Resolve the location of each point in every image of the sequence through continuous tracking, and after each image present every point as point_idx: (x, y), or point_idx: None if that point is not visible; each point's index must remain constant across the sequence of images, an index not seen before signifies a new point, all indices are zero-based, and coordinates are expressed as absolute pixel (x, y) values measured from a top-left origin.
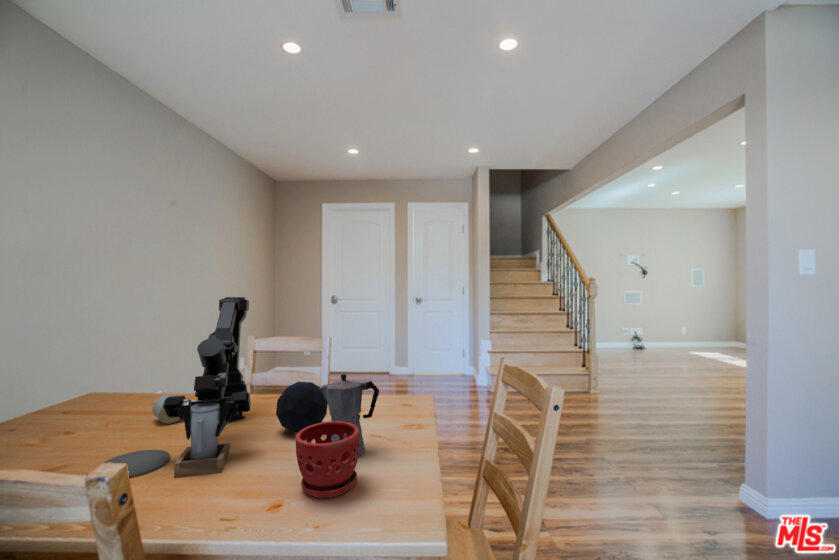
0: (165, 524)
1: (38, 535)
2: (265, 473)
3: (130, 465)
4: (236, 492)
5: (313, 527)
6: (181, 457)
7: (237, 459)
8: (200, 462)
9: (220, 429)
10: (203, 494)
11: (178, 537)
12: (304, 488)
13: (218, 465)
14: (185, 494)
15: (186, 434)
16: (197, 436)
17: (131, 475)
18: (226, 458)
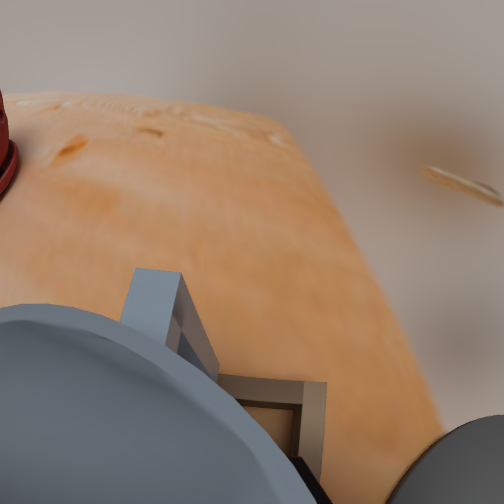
0: (264, 143)
1: (477, 192)
2: (25, 293)
3: (487, 494)
4: (112, 214)
5: (60, 106)
6: (309, 452)
7: None
8: None
9: None
10: (193, 230)
11: (232, 111)
12: (15, 155)
13: None
14: (245, 247)
15: (308, 469)
16: (204, 335)
17: (463, 425)
18: None
